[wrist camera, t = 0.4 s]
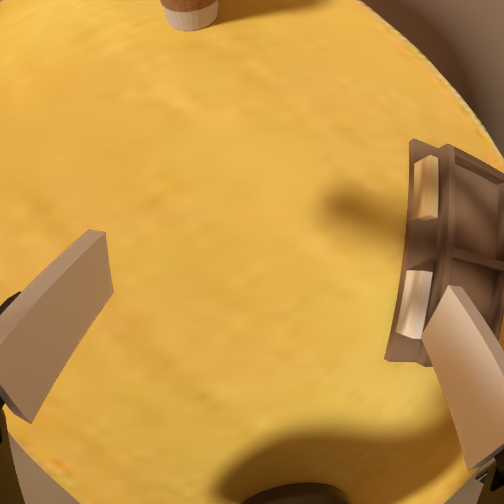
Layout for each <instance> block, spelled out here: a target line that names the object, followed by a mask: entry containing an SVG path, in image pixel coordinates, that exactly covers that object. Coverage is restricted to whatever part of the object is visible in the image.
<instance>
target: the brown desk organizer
mask: <svg viewBox="0 0 504 504" xmlns="http://www.w3.org/2000/svg"><path fill="white" fill-rule="evenodd" d="M448 285H452V286H459V287H462V288H463V290H464V291H465V292H466V294H467V295H468V297H469V298H470V299H471V301H472V302H473V304H474V305H475V307H476V308H477V309H478V311H479V312H480V314H481V315H482V317H483V318H484V320H485V321H486V323H487V324H488V326H489V328H490V329H491V331H492V332H493V334H494V336H495V337H496V339H497V340H498V339H499V335H500V330H501V325H502V320H503V314H504V174H503V173H502V172H500V171H498V170H497V169H495V168H493V167H492V166H490V165H488V164H486V163H484V162H483V161H481V160H479V159H477V158H475V157H473V156H472V155H470V154H468V153H466V152H464V151H462V150H460V149H458V148H456V147H454V146H452V145H450V144H446V145H444V146H442V147H440V148H436V147H434V146H431V145H429V144H427V143H424V142H422V141H419V140H417V139H412V140H411V141H409V195H408V212H407V225H406V236H405V245H404V254H403V262H402V270H401V277H400V283H399V289H398V295H397V301H396V307H395V312H394V317H393V322H392V327H391V332H390V336H389V341H388V345H387V349H386V353H385V357H384V359H385V360H387V361H389V362H417V363H419V364H421V365H423V366H425V367H433V365H432V362H431V360H430V357H429V355H428V353H427V350H426V348H425V346H424V343H423V341H422V339H421V337H420V336H421V335H422V333H423V331H424V330H425V328H426V326H427V324H428V323H429V321H430V319H431V317H432V315H433V314H434V312H435V310H436V308H437V306H438V304H439V302H440V301H441V299H442V297H443V295H444V293H445V291H446V289H447V287H448Z"/></svg>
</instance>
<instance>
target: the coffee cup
mask: <svg viewBox="0 0 504 504" xmlns="http://www.w3.org/2000/svg"><path fill="white" fill-rule="evenodd" d="M160 1H161V3H162V5H163V8H164V11H165V14H166V17H167V20H168V22H169V24H170V25H171V26H172V27H173V28H175V29H177V30H181V31H194V30H199V29H202V28H205V27H207V26H209V25H210V24H212V23H213V22H214V21H215V19H216V17H217V13H218V2H219V0H160Z"/></svg>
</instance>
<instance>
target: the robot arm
mask: <svg viewBox="0 0 504 504" xmlns="http://www.w3.org/2000/svg"><path fill="white" fill-rule="evenodd" d="M113 293H114V291H113V285H112V279H111V272H110V265H109V258H108V249H107V241H106V232H102V231H96V230H90V229H89V230H88V231H87V232H85V233H84V234H83V235H82V236H81V237H80V238H78V239H77V240H76V241H75V242H74V243H73V244H72V245H70V246H69V247H68V248H67V249H66V250H65V251H64V252H63V253H62V254H60V255H59V256H58V257H57V258H56V259H55V260H54V261H53V262H52V263H51V264H50V265H49V266H48V267H47V268H45V269H44V270H43V271H42V272H41V273H40V274H39V275H38V276H37V277H36V278H35V279H34V280H33V281H32V282H31V283H30V284H29V285H28V286H27V287H26V288H25V289H24V290H23V291H22V292H20V291H19V292H18V293H16V294H14V295H13V296H11V297H10V298H8V299H7V300H6V301H5V302H4V303H3V304H2V305H1V306H0V504H25V502H24V499H23V496H22V492H21V489H20V486H19V482H18V478H17V475H16V471H15V466H14V462H13V458H12V453H11V448H10V444H9V437H8V431H7V425H6V417H5V414H4V411H3V409H2V407H3V405H4V404H6V405H7V406H8V407H9V409H10V410H11V411H12V412H13V413H14V414H15V415H17V416H18V417H20V418H22V419H23V420H25V421H27V422H29V423H30V424H32V422H33V420H34V418H35V416H36V414H37V412H38V411H39V409H40V407H41V405H42V403H43V402H44V400H45V398H46V396H47V395H48V393H49V391H50V389H51V388H52V386H53V384H54V383H55V381H56V379H57V378H58V376H59V374H60V373H61V371H62V369H63V368H64V366H65V364H66V363H67V361H68V360H69V358H70V356H71V355H72V353H73V352H74V350H75V349H76V347H77V345H78V344H79V342H80V341H81V339H82V338H83V336H84V335H85V333H86V332H87V330H88V329H89V327H90V326H91V324H92V323H93V321H94V320H95V318H96V317H97V316H98V314H99V313H100V311H101V310H102V308H103V307H104V305H105V304H106V303H107V301H108V300H109V298H110V297H111V296H112V294H113ZM420 337H421V339H422V341H423V343H424V346H425V348H426V350H427V353H428V355H429V357H430V360H431V362H432V365H433V367H434V370H435V372H436V375H437V377H438V380H439V382H440V385H441V388H442V390H443V393H444V396H445V399H446V401H447V404H448V407H449V410H450V413H451V416H452V419H453V422H454V425H455V428H456V431H457V435H458V438H459V441H460V445H461V448H462V452H463V455H464V459H465V463H466V467H467V470H470V469H473V468H476V467H479V466H482V465H483V464H485V463H486V462H488V461H489V460H490V459H492V458H493V457H495V460H496V461H495V462H493V463H492V464H491V465H490V466H488V467H487V468H485V469H484V470H482V471H481V472H480V473H478V474H477V476H476V478H475V479H476V480H477V479H479V478H480V477H482V476H483V475H485V474H486V473H487V475H486V476H484V477H483V478H482V479H481V480H480V482H482V483H484V486H483V489H482V491H481V494H480V496H479V499H478V502H477V504H504V350H503V349H502V347H501V345H500V344H499V342H498V340H497V339H496V337H495V336H494V334H493V332H492V331H491V329H490V328H489V326H488V324H487V323H486V321H485V320H484V318H483V317H482V315H481V314H480V312H479V311H478V309H477V308H476V307H475V305H474V304H473V302H472V301H471V299H470V298H469V297H468V295H467V294H466V292H465V291H464V290H463V288H462V287H459V286H452V285H448V287H447V289H446V291H445V293H444V295H443V297H442V299H441V301H440V302H439V304H438V306H437V308H436V310H435V312H434V314H433V315H432V317H431V319H430V321H429V323H428V324H427V326H426V328H425V330H424V331H423V333H422V335H421V336H420ZM242 504H351V503H350V501H349V499H348V497H347V496H346V495H345V493H343V492H342V491H341V490H339V489H337V488H335V487H332V486H329V485H325V484H316V483H304V484H293V485H287V486H282V487H278V488H274V489H271V490H268V491H265V492H262V493H260V494H258V495H255V496H253V497H252V498H250V499H248V500H246V501H245V502H243V503H242Z"/></svg>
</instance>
